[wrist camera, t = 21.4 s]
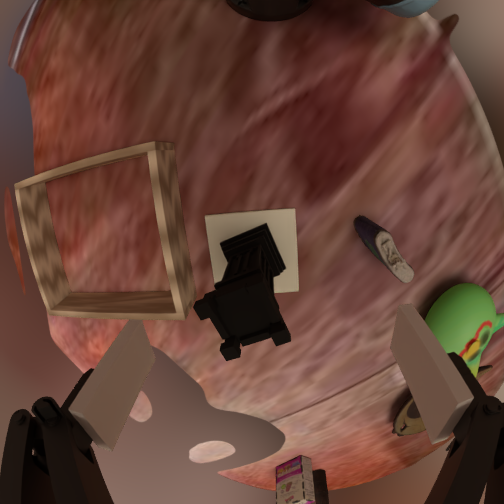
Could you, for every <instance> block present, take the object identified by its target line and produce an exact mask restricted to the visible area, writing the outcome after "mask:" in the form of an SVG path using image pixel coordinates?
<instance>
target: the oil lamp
mask: <svg viewBox="0 0 504 504" xmlns="http://www.w3.org/2000/svg"><path fill="white" fill-rule="evenodd" d="M492 368H493V366H492V365H487V366H481V367H479V368H478V372H477V376H476V379H477V380H478V378H479V377H480V376H481V375H483V374H484V373H486V372H488V371H490V370H491V369H492ZM403 424H405V426H404V427H403V429H401V427H402V426H403ZM393 427H394V428H393V431H392V433H393V434H394V433H397V435H398V436H404V435H412V434H416V433H420V432H422V431H425V430H426V428H425V425H424V423H423V420H422V418H421V415H420V413H419V410H418V408H417V406H416V403H415V401H414V398H413V396H411V397H410V398H409V399H408V400H407V401H406V402H405V403H404V405H403V406H402V407H401V409H400V410H399V412H398V413H397V415H396V417H395V420H394V423H393Z"/></svg>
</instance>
